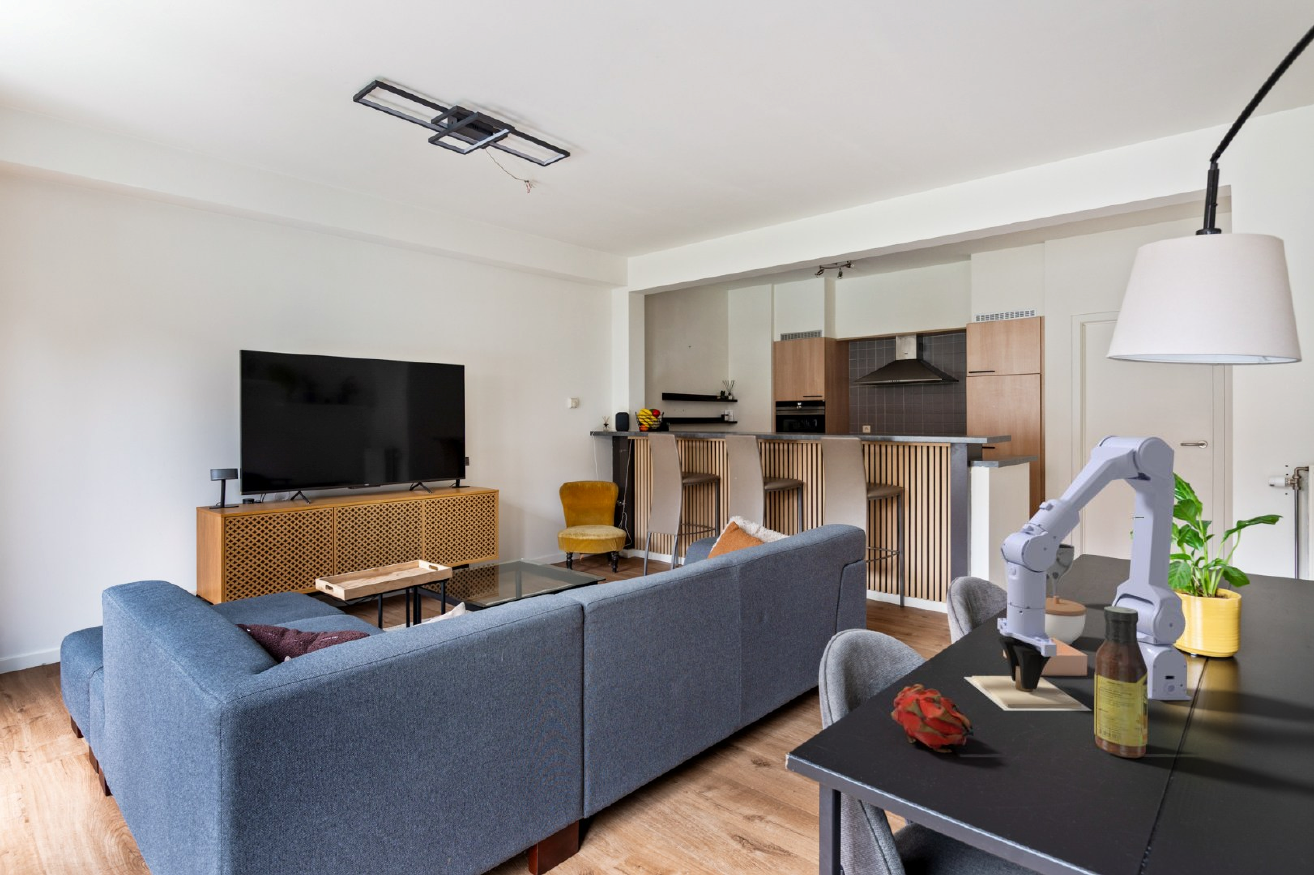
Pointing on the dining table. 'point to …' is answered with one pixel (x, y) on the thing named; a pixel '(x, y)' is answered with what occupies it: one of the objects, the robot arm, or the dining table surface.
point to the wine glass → (1061, 565)
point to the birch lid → (1025, 693)
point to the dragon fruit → (930, 718)
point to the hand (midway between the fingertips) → (1024, 684)
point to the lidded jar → (1064, 619)
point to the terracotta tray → (1065, 661)
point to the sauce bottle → (1121, 687)
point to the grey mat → (1022, 708)
